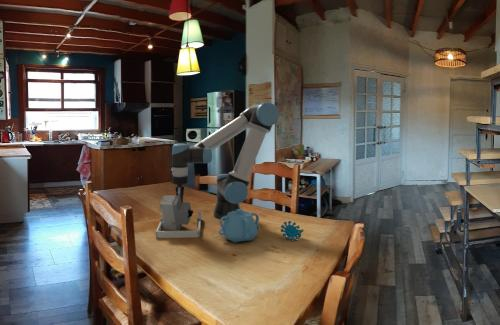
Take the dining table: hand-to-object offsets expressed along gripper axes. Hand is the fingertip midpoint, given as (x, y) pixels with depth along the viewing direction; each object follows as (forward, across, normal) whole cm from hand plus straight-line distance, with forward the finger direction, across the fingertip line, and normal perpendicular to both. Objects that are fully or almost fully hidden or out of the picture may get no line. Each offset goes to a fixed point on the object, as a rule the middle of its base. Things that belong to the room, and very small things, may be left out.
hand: (180, 222), depth 200 cm
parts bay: (+2, +11, 0) cm, 11 cm away
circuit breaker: (+1, +4, 0) cm, 5 cm away
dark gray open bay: (+2, -4, 0) cm, 5 cm away
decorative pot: (+2, +22, +28) cm, 36 cm away
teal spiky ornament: (+2, +24, +52) cm, 57 cm away
